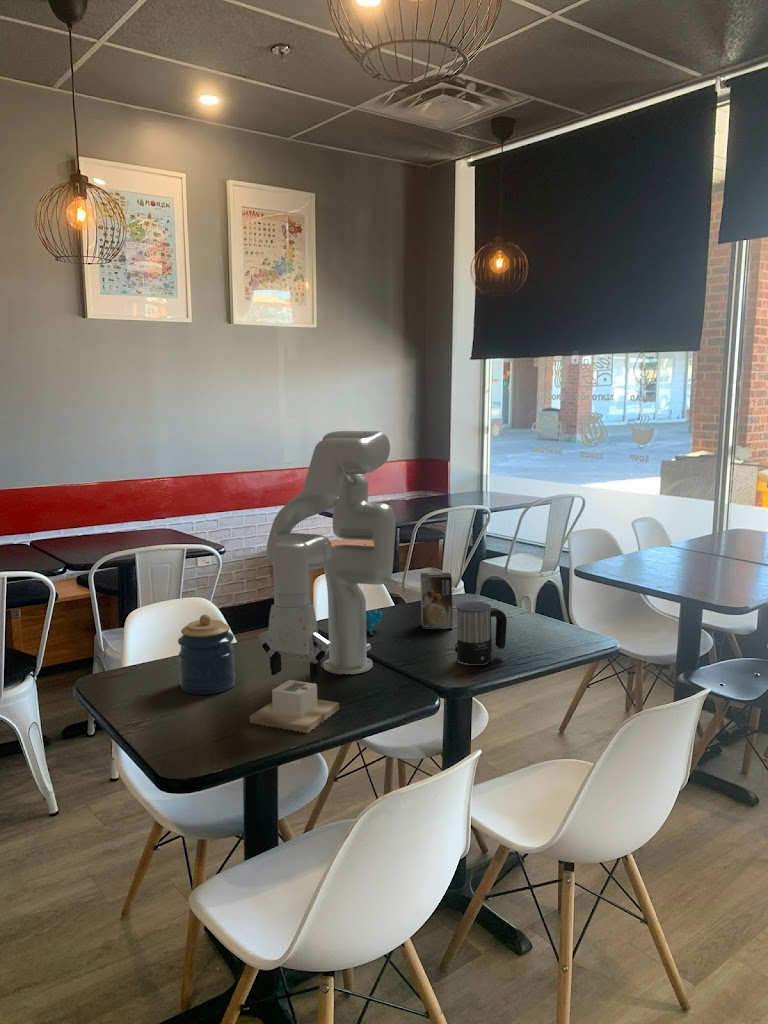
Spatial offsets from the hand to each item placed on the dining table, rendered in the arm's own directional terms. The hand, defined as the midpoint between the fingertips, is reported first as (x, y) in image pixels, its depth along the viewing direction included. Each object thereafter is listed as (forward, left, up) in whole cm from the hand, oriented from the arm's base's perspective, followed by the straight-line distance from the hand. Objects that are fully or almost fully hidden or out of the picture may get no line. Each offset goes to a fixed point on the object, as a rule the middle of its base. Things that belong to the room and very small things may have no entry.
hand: (295, 676), depth 171 cm
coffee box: (-75, +4, -9) cm, 76 cm away
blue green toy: (-61, -13, -9) cm, 63 cm away
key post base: (+1, 0, -9) cm, 9 cm away
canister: (-7, -29, -9) cm, 31 cm away
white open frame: (+1, 0, -7) cm, 7 cm away
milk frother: (-53, +22, -9) cm, 58 cm away
